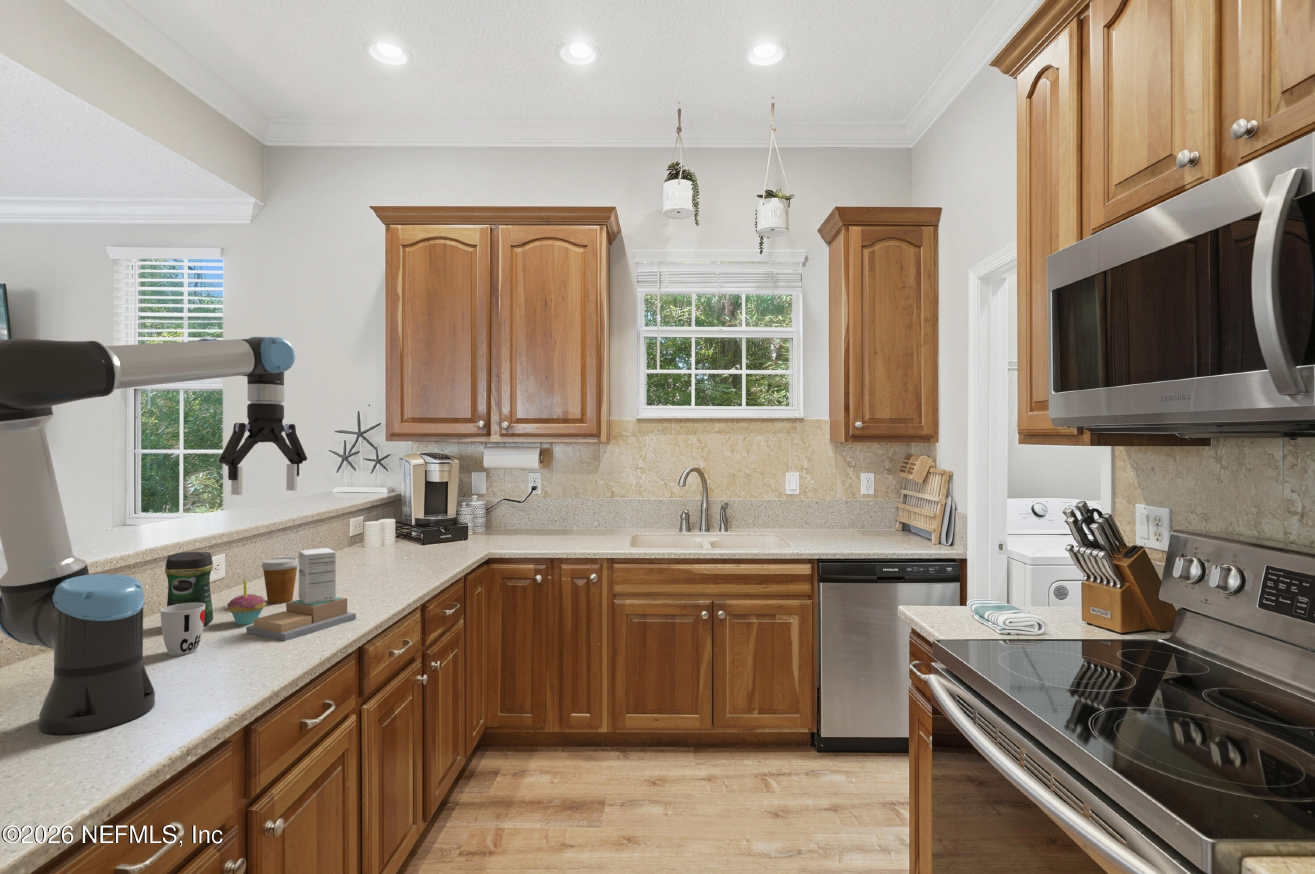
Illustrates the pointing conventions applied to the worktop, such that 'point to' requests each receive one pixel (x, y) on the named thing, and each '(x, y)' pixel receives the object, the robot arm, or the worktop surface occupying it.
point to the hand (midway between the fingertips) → (265, 492)
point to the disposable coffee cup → (280, 579)
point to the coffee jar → (190, 580)
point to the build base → (302, 629)
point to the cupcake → (246, 607)
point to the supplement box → (317, 575)
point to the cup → (182, 627)
